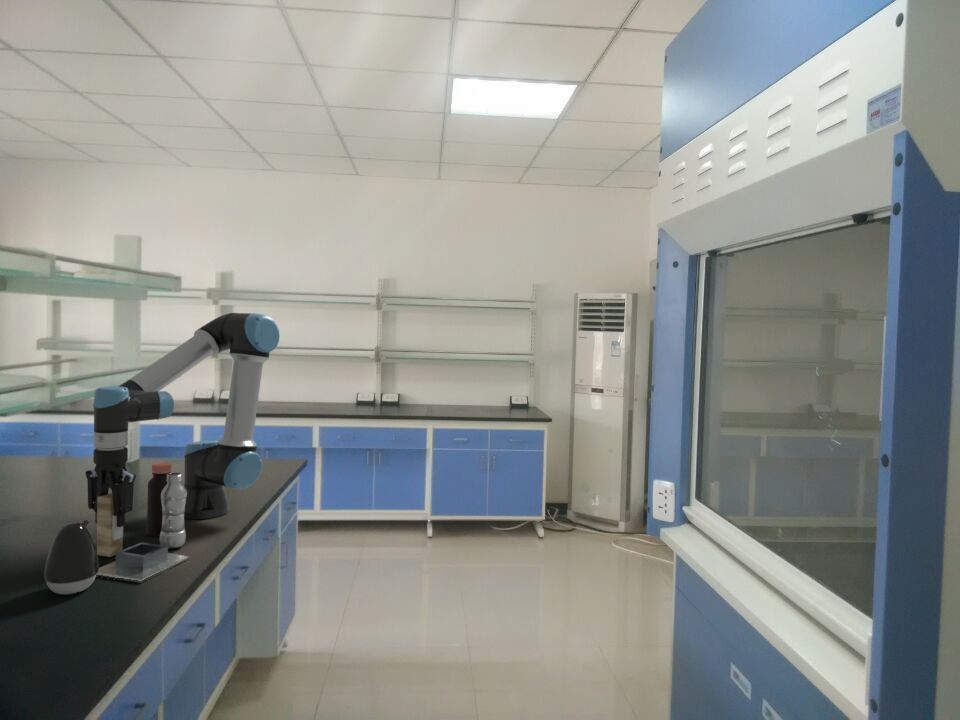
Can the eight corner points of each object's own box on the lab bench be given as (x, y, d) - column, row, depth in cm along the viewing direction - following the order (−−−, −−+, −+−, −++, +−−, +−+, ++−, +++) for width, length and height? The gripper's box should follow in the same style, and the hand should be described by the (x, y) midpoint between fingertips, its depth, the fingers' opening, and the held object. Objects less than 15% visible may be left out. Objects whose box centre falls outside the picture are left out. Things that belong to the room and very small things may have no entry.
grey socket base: (143, 552, 162) (143, 535, 162) (188, 560, 159) (189, 542, 159) (91, 575, 147) (91, 556, 147) (140, 583, 143) (141, 564, 143)
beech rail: (109, 549, 162) (110, 493, 161) (122, 551, 161) (123, 494, 160) (96, 554, 158) (97, 497, 157) (109, 557, 157) (110, 498, 156)
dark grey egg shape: (108, 581, 144) (109, 516, 144) (80, 600, 134) (82, 531, 133) (63, 579, 144) (64, 515, 143) (32, 598, 134) (33, 529, 133)
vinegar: (169, 536, 175) (171, 467, 174) (143, 537, 174) (145, 466, 173) (176, 529, 182) (177, 461, 181) (151, 529, 180) (152, 461, 179)
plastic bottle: (178, 541, 172) (180, 470, 171) (190, 547, 168) (192, 474, 167) (154, 546, 167) (156, 473, 166) (165, 553, 163) (167, 478, 162)
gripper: (70, 447, 156) (70, 538, 157) (127, 453, 152) (125, 546, 153) (95, 442, 163) (95, 529, 165) (150, 447, 159) (149, 536, 161)
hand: (109, 537), depth 159 cm, fingers closed on beech rail, 4 cm apart
